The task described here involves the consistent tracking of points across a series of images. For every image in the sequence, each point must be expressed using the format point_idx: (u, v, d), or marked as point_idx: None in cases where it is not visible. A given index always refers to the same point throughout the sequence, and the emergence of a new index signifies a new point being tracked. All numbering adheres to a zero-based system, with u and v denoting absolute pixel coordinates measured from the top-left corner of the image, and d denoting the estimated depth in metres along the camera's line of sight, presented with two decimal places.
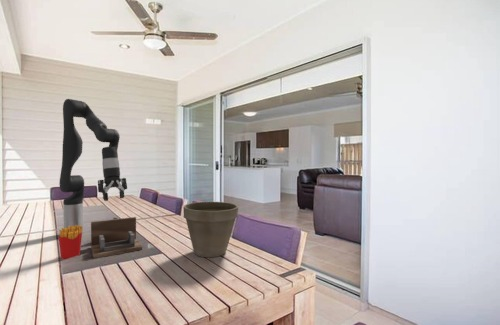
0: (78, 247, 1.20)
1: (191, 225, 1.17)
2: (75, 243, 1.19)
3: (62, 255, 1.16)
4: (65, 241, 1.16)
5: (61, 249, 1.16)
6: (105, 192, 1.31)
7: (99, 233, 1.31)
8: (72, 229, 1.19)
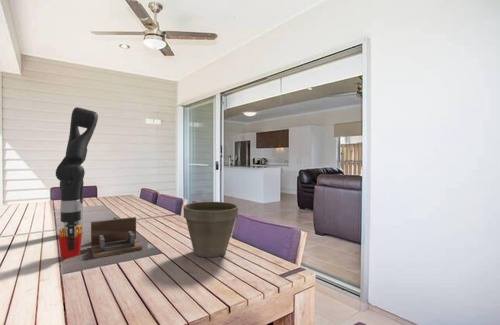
0: (78, 247, 1.20)
1: (191, 225, 1.17)
2: (75, 243, 1.19)
3: (62, 255, 1.16)
4: (65, 241, 1.16)
5: (61, 249, 1.16)
6: None
7: (99, 233, 1.31)
8: None
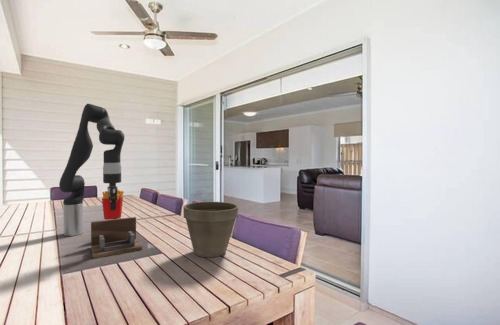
0: (119, 210, 1.26)
1: (191, 225, 1.17)
2: (116, 206, 1.25)
3: (105, 216, 1.23)
4: (107, 202, 1.23)
5: (104, 210, 1.23)
6: None
7: (99, 233, 1.31)
8: None
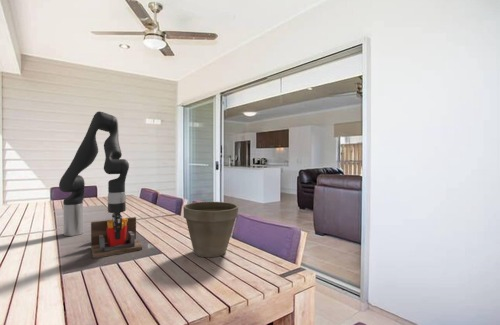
0: (123, 238, 1.28)
1: (191, 225, 1.17)
2: (121, 234, 1.27)
3: (109, 245, 1.24)
4: (112, 232, 1.24)
5: (109, 239, 1.24)
6: None
7: (99, 233, 1.31)
8: None
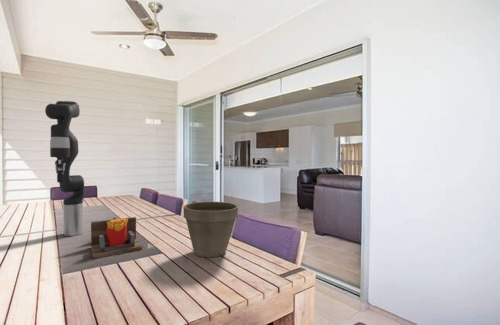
0: (123, 239, 1.28)
1: (191, 225, 1.17)
2: (121, 235, 1.27)
3: (109, 245, 1.24)
4: (112, 232, 1.24)
5: (109, 240, 1.24)
6: None
7: (99, 233, 1.31)
8: (118, 222, 1.26)
